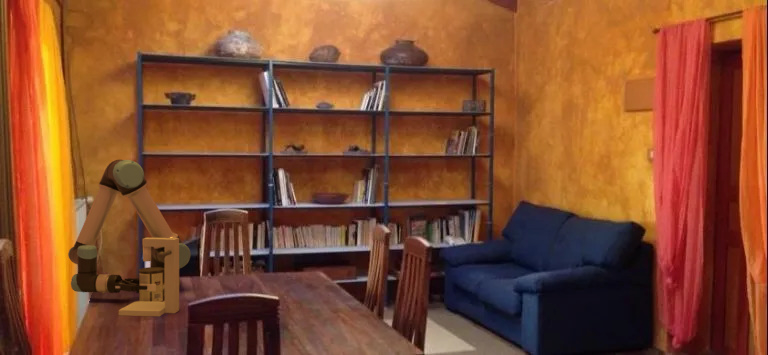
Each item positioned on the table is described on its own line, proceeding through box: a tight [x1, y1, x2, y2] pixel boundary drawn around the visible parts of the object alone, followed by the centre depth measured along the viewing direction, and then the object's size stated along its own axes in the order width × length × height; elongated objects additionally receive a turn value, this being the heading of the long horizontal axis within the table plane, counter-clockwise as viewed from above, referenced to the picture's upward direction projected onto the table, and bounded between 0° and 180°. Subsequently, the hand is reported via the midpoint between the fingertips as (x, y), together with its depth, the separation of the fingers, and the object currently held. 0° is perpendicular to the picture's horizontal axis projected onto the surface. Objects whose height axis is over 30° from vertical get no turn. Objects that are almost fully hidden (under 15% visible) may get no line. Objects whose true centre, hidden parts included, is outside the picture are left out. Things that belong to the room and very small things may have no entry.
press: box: [118, 237, 180, 317], centre depth 274 cm, size 20×20×29 cm
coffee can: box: [138, 266, 165, 302], centre depth 292 cm, size 10×10×14 cm
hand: (161, 284), depth 291 cm, fingers open, 11 cm apart
